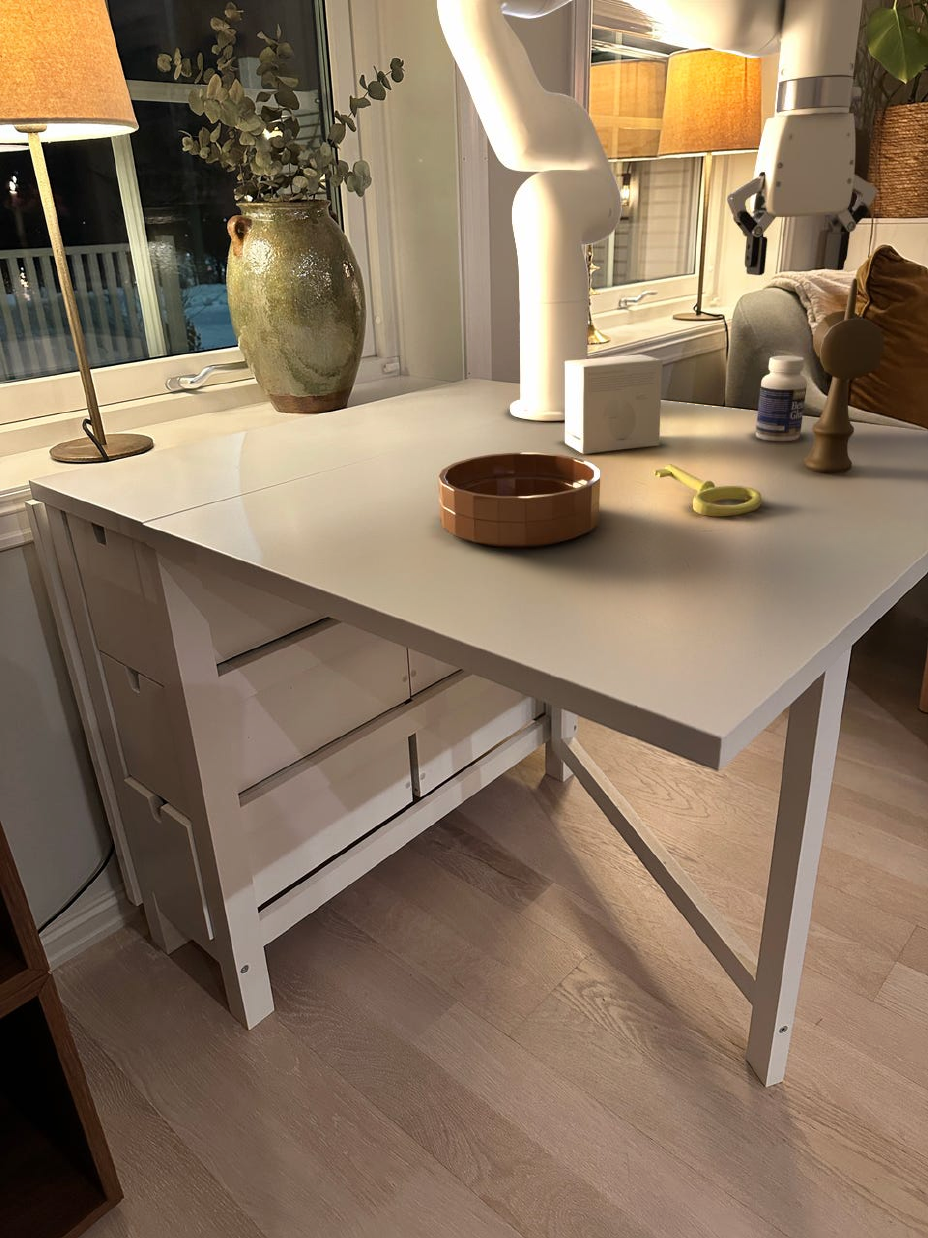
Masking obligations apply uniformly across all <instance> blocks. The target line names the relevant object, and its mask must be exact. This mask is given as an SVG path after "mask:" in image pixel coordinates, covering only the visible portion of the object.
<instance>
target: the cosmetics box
mask: <svg viewBox="0 0 928 1238" xmlns="http://www.w3.org/2000/svg"><path fill="white" fill-rule="evenodd" d="M663 363H664V362H663V359H661V358H657V357H654V356H649V355H646V354H640V353H639V354H629V355H620V356H619V355H617V356H607V357H595V358H587V359H583V360H571V361H565V420H564V443H565V445H567V446H569V447H570V448H573V449H575V450H576V451H577V452H579V453H580V454H582V455H587V454H596V453H602V452H603V453H604V452H611V451H613V452H614V451H620V450H630V449H638V448H647V447H655V446H659V445H660V441H661V440H660V438H661V436H660V434H661V433H660V432H661V407H662V405H661V404H662V382H663V381H662V379H663V365H664V364H663Z"/></svg>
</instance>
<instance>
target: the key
mask: <svg viewBox="0 0 928 1238" xmlns="http://www.w3.org/2000/svg"><path fill="white" fill-rule="evenodd" d="M653 475H654V476H657V477H658V478H659V479H660V478H665V477H666V478H667V477H670V478H672V479H674V480H675V481H677V482H679V483H681V484H683V485H684V486H687V487H688V488H690V489H691V490H693V491H694V492H697V493H696V494H695V495H694V498H693V500H692V506H693V507H692V508H693V510H694V512H696V513H697V514H700V515H702V516H706V517H729V516H736V515H741V514H746V513H750V512H754V511H755V510H757V509H758V508H759V507H760V506H761V504H762V494H761V492H760V491H758V490H757V489H754V488H752V487H748V486H744V485H743V486H742V485H723V486H722V485H721V486H715V483H714V482H713V481H711V480H705V481H703V480H702V479H699V478H698V477H696V476H694V475H692V474H690V473H688V472H687V471H684V470H683V469H681V468H679V467H678V466H675V465H674V464H673V463H669V464H667V465H665V467H664V468H662V469H654V470H653ZM731 499H732V500H743V501H745V502H742V503H738V504H733V505H722V504H721V505H720V504H713V503H711V502H715V501H721V500H731Z"/></svg>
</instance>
